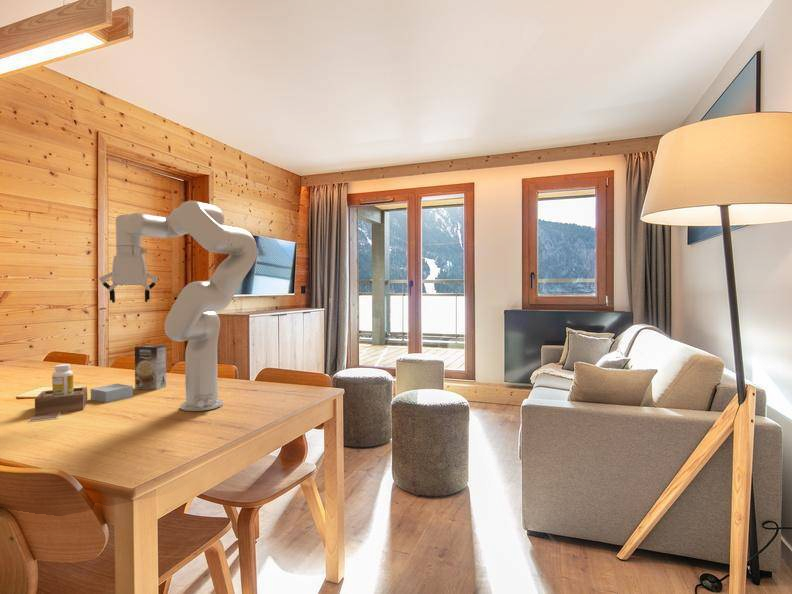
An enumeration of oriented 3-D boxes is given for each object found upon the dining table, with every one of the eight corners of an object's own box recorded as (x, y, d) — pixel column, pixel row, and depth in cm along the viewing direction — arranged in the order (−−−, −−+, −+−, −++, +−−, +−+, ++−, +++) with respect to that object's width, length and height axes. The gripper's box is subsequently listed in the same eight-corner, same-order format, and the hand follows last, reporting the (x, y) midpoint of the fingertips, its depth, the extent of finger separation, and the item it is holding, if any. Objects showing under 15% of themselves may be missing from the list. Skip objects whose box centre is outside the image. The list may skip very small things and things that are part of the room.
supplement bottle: (70, 392, 148) (69, 362, 147) (75, 395, 144) (75, 364, 144) (50, 395, 144) (49, 365, 143) (55, 398, 140) (54, 367, 140)
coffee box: (133, 389, 169) (133, 346, 169) (145, 385, 176) (144, 344, 175) (157, 389, 168) (156, 347, 168) (167, 386, 175) (166, 344, 174)
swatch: (57, 418, 133) (57, 416, 133) (28, 422, 129) (27, 420, 129) (61, 412, 139) (61, 411, 139) (33, 415, 135) (33, 414, 135)
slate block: (132, 397, 158) (132, 386, 158) (106, 403, 150) (106, 391, 150) (117, 394, 163) (117, 383, 162) (90, 400, 155) (90, 388, 154)
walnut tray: (83, 409, 142) (83, 394, 142) (35, 415, 136) (34, 399, 136) (87, 401, 152) (87, 386, 152) (42, 405, 146) (42, 391, 146)
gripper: (157, 253, 161) (158, 301, 162) (99, 251, 153) (100, 302, 153) (158, 252, 155) (159, 302, 155) (97, 250, 146) (98, 303, 147)
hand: (130, 302), depth 154 cm, fingers open, 9 cm apart
